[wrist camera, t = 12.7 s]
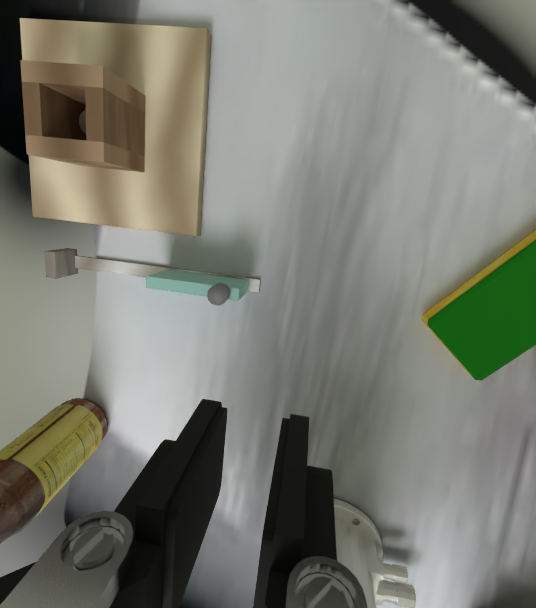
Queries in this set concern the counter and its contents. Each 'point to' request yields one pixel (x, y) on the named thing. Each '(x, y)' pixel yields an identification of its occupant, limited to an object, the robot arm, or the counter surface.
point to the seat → (158, 136)
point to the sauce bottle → (46, 461)
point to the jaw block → (99, 116)
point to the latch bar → (199, 285)
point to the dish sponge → (491, 312)
